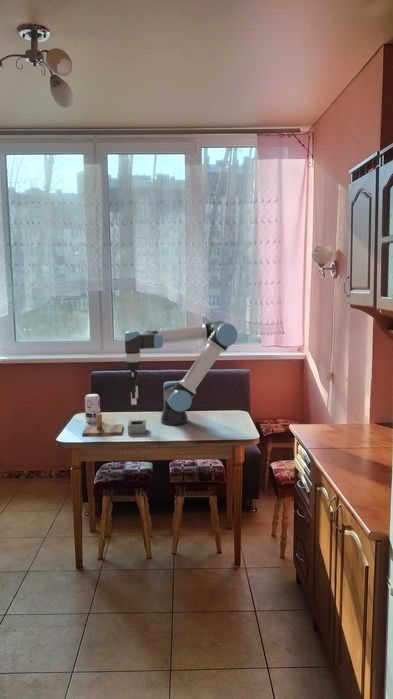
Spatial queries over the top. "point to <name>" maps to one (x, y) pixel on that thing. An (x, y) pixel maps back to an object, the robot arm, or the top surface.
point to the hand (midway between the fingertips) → (134, 401)
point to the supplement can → (92, 407)
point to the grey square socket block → (137, 427)
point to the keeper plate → (102, 428)
